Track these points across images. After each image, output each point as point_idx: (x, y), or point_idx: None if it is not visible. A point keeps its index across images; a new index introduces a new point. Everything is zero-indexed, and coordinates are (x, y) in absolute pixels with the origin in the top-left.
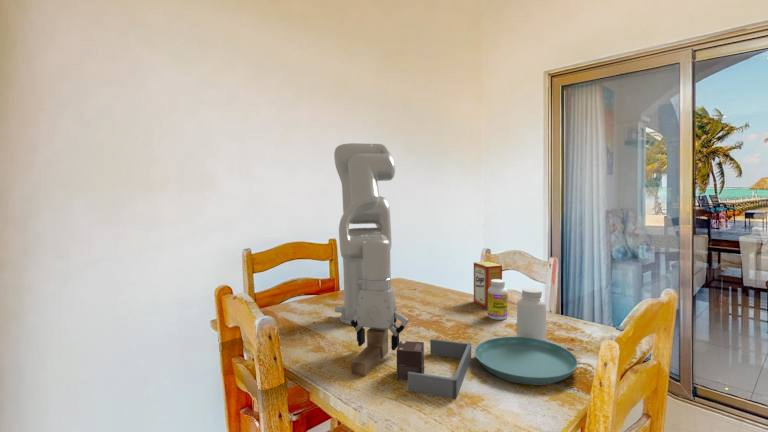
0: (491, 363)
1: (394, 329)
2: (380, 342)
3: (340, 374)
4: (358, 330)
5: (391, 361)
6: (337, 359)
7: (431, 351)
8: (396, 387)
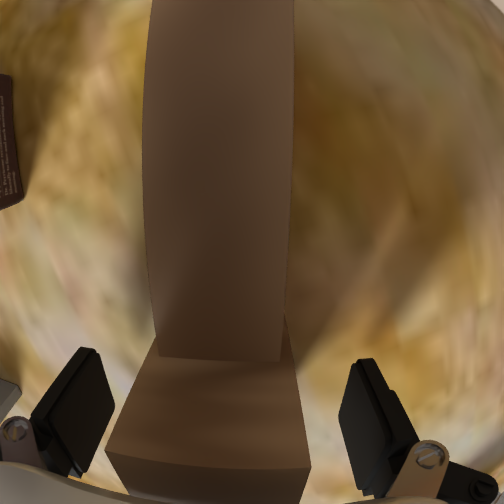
0: None
1: (3, 459)
2: (155, 381)
3: (351, 7)
4: (412, 452)
5: (103, 282)
6: (453, 210)
7: (8, 391)
8: (11, 20)
